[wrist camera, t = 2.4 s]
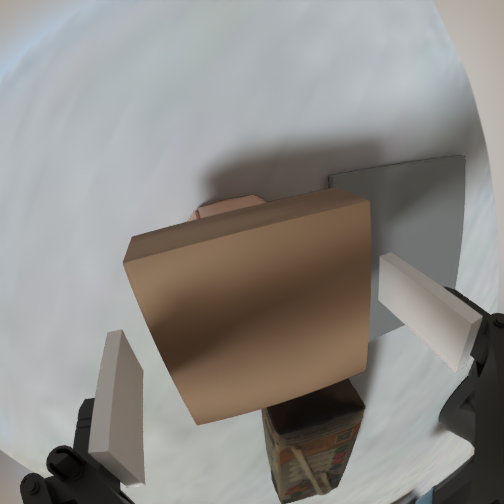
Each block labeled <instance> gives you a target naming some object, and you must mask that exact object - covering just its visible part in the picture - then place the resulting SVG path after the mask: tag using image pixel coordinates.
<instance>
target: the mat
mask: <svg viewBox="0 0 504 504" xmlns="http://www.w3.org/2000/svg"><path fill="white" fill-rule="evenodd" d="M328 177H329V186H330V188H334V187H337V188H339V189H342V190H344V191H347V192H349V193H352V194H354V195H357V196H359V197H362V198H364V199H366V200H369V201H370V218H371V304H370V325H369V340H372V339H374V338H376V337H379V336H381V335H383V334H386V333H388V332H390V331H392V330H395V329H397V328H399V327H401V326H403V325H405V324H404V323H403V322H402V321H401V320H400V319H399V318H397V317H396V316H395V315H394V314H393V313H392V312H391V311H390V310H389V309H388V308H387V307H385V306H384V305H383V304H382V303H381V302H380V301H379V300H378V293H379V266H380V256H382V255H385V254H388V253H393V254H394V255H396V256H397V257H399V258H400V259H402V260H404V261H405V262H407V263H408V264H410V265H411V266H413V267H414V268H416V269H417V270H419V271H420V272H422V273H423V274H424V275H426V276H427V277H429V278H430V279H432V280H433V281H435V282H436V283H438V284H439V285H440V286H442V287H445V286H446V287H449V288H452V289H455V286H456V280H457V274H458V267H459V259H460V252H461V243H462V233H463V221H464V205H465V156H462V155H458V156H450V157H442V158H434V159H427V160H420V161H413V162H406V163H399V164H393V165H386V166H380V167H374V168H368V169H362V170H357V171H351V172H345V173H340V174H334V175H329V176H328ZM369 340H368V341H369Z"/></svg>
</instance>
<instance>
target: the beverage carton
mask: <svg viewBox="0 0 504 504" xmlns="http://www.w3.org/2000/svg"><path fill="white" fill-rule="evenodd" d="M364 409H365V404H364V403H363V401H362V400H361V398H360V396H359V395H358V393H357V391H356V390H355V388H354V387H353V386H352V384H351V382H350V381H349V379H348V378H347V379H344V380H342V381H340V382H337V383H335V384H332V385H329V386H327V387H324V388H322V389H319V390H316V391H314V392H311V393H308V394H305V395H302V396H300V397H297V398H294V399H291V400H288V401H285V402H282V403H279V404H276V405H272V406H269V407H266V408H263V409H261V410H262V420H263V426H264V433H265V441H266V449H267V454H268V459H269V464H270V468H271V475H272V481H273V484H274V487H275V490H276V492H277V494H278V497H279V500H280V502H281V504H287V503H291V502H294V501H298V500H301V499H305V498H308V497H311V496H314V495H317V494H318V495H325V494H327V493H329V492H330V491H331V490H332V489H334V488H336V487H338V485H339V483H340V480H341V478H342V476H343V473H344V471H345V469H346V466H347V463H348V460H349V458H350V455H351V453H352V449H353V446H354V444H355V441H356V437H357V434H358V431H359V428H360V424H361V421H362V418H363V412H364Z"/></svg>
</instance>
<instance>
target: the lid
mask: <svg viewBox="0 0 504 504" xmlns="http://www.w3.org/2000/svg"><path fill="white" fill-rule="evenodd" d="M123 266H124V268H125V271H126V274H127V277H128V279H129V282H130V284H131V287H132V290H133V292H134V295H135V297H136V300H137V302H138V305H139V307H140V309H141V312H142V314H143V317H144V319H145V321H146V324H147V326H148V328H149V331H150V333H151V335H152V337H153V340H154V342H155V344H156V346H157V348H158V351H159V353H160V355H161V357H162V359H163V361H164V363H165V365H166V367H167V369H168V371H169V374H170V376H171V378H172V380H173V382H174V384H175V385H176V387H177V389H178V391H179V393H180V395H181V397H182V399H183V401H184V403H185V405H186V406H187V408H188V410H189V412H190V414H191V416H192V417H193V419H194V421H195V423H196V425H201V424H206V423H210V422H214V421H219V420H223V419H227V418H230V417H234V416H238V415H242V414H245V413H249V412H252V411H256V410H259V409H263V408H266V407H269V406H272V405H276V404H279V403H282V402H285V401H288V400H291V399H294V398H297V397H300V396H302V395H305V394H308V393H311V392H314V391H316V390H319V389H322V388H324V387H327V386H329V385H332V384H335V383H337V382H340V381H342V380H344V379H347V378H349V377H352V376H354V375H356V374H359V373H361V372H363V371H366V364H367V353H368V340H369V325H370V304H371V218H370V201H369V200H366V199H364V198H362V197H359V196H357V195H354V194H352V193H349V192H347V191H344V190H342V189H339V188H337V187H334V188H329V189H325V190H320V191H315V192H310V193H306V194H301V195H297V196H292V197H288V198H283V199H279V200H274V201H270V202H266V203H261V204H257V205H253V206H249V207H244V208H240V209H236V210H232V211H228V212H224V213H220V214H216V215H212V216H208V217H204V218H200V219H196V220H192V221H188V222H185V223H181V224H177V225H173V226H169V227H166V228H162V229H158V230H155V231H151V232H147V233H144V234H140V235H137V236H133V237H132V238H131V241H130V244H129V247H128V249H127V252H126V255H125V258H124V261H123Z"/></svg>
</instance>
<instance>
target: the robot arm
mask: <svg viewBox="0 0 504 504" xmlns="http://www.w3.org/2000/svg"><path fill="white" fill-rule="evenodd" d="M378 300H379V301H380V302H381V303H382V304H383V305H384V306H385V307H387V308H388V309H389V310H390V311H391V312H392V313H393V314H394V315H395V316H396V317H397V318H399V319H400V320H401V321H402V322H403V323H404V324H405V325H406V326H407V327H408V328H409V329H410V330H411V331H412V332H414V333H415V334H416V335H417V336H418V337H419V338H420V339H421V340H422V341H423V342H424V343H425V344H426V345H427V346H428V347H429V348H430V349H431V350H433V351H434V352H435V353H436V354H437V355H438V356H439V357H440V358H441V359H442V360H443V361H444V362H445V363H446V364H447V365H448V366H449V367H450V368H451V369H452V370H453V371H454V372H455V373H456V372H457V371H459V370H460V369H462V368H463V367H464V366H466V365H467V362H468V360H469V357H470V355H471V356H472V357H473V358H474V361H473V364H472V366H471V369H470V371H469V374H468V377H467V378H466V380H465V381H464V382H463V383H462V384H461V385H460V386H459V387H458V389H457V390H456V391H455V392H454V393H453V395H452V396H451V397H450V399H449V400H448V401H447V403H446V404H445V406H444V408H443V409H442V411H441V413H440V416H439V422H440V423H441V424H442V425H443V427H444V428H445V429H447V430H448V431H451V432H452V433H454V434H456V435H458V436H460V437H461V438H463V439H465V440H467V441H469V442H470V443H471V444H472V445H473V447H474V448H475V451H474V455H473V456H472V457H471V458H470V459H468V460H467V461H466V462H465V463H464V464H463V465H461V466H460V467H459V468H458V469H457V470H455V471H454V472H453V473H452V474H450V475H449V476H448V477H447V478H445V479H444V480H443V481H442V482H440V483H439V484H438V485H435V486H433V487H432V489H431V490H430V491H428V492H427V493H426V494H425V495H423V496H422V497H421V498H419V499H418V500H417V501H416V503H415V504H504V314H501V313H494V314H492V315H490V314H489V313H487V312H486V311H484V310H483V309H482V308H480V307H479V306H478V305H476V304H475V303H473V302H472V301H471V300H470V301H469V299H468V298H466V297H465V296H463V295H462V294H461V293H459V292H458V291H457V290H455V289H452V288H449V287H446V286H445V287H442V286H440V285H439V284H438V283H436V282H435V281H433V280H432V279H430V278H429V277H427V276H426V275H424V274H423V273H422V272H420V271H419V270H417V269H416V268H414V267H413V266H411V265H410V264H408V263H407V262H405V261H404V260H402V259H400V258H399V257H397V256H396V255H394V254H393V253H388V254H385V255H382V256H380V266H379V293H378ZM472 371H473V372H472ZM76 428H77V429H76V431H75V438H74V445H73V449H72V448H71V447H70V446H66V445H63V446H58V447H56V448H55V449H53V450H52V451H51V452H50V453H49V455H48V458H47V463H46V466H47V469H48V471H49V472H50V473H52V474H53V475H54V476H51V477H48V478H45V479H44V478H43V477H42V476H40V475H39V474H37V473H30V474H28V475H26V476H25V477H24V478H23V480H22V481H21V485H20V492H21V496H22V500H23V503H24V504H135V503H134V502H133V501H132V500H131V499H130V498H129V497H128V496H127V495H126V494H125V493H124V492H122V491H121V490H120V482H122V483H123V484H124V485H125V486H126V487H136V486H145V473H144V452H143V369H142V367H141V366H140V364H139V362H138V360H137V358H136V356H135V354H134V352H133V351H132V349H131V347H130V345H129V343H128V341H127V339H126V337H125V335H124V333H123V331H122V330H117V331H113V332H109V333H107V338H106V342H105V347H104V352H103V357H102V362H101V367H100V372H99V378H98V383H97V389H96V395H95V398H91V399H85V400H84V402H83V404H82V405H81V407H80V409H79V413H78V421H77V425H76Z"/></svg>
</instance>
